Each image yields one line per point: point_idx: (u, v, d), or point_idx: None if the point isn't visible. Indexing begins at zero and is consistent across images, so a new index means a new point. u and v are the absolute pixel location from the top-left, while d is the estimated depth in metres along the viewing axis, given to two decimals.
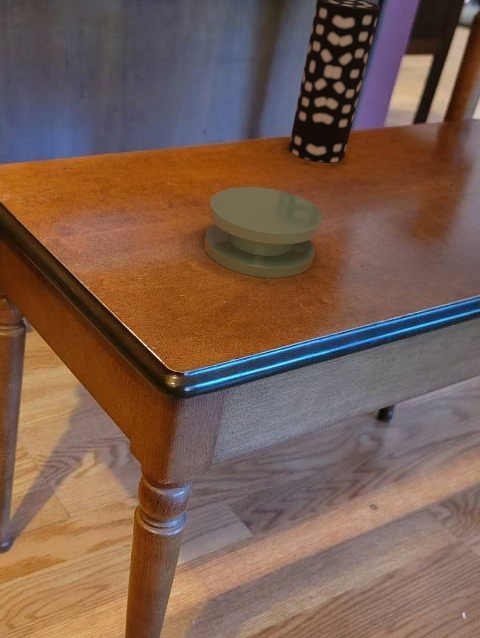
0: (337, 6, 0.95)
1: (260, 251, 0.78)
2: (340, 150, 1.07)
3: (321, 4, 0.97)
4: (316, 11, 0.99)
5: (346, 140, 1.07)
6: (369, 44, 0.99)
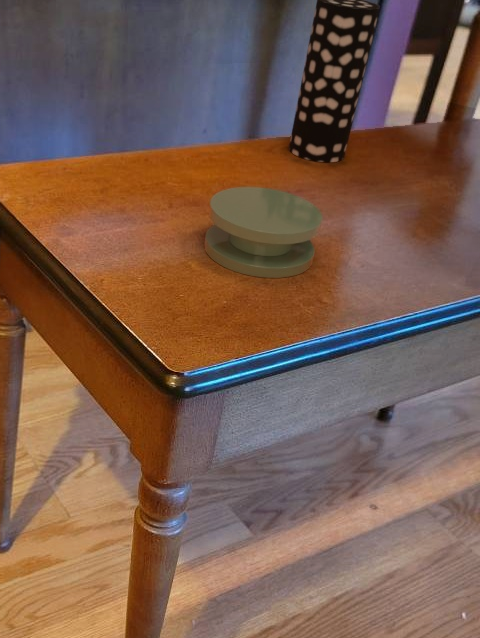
0: (337, 6, 0.95)
1: (260, 251, 0.78)
2: (340, 150, 1.07)
3: (320, 4, 0.97)
4: (316, 11, 0.99)
5: (346, 140, 1.07)
6: (369, 44, 0.99)
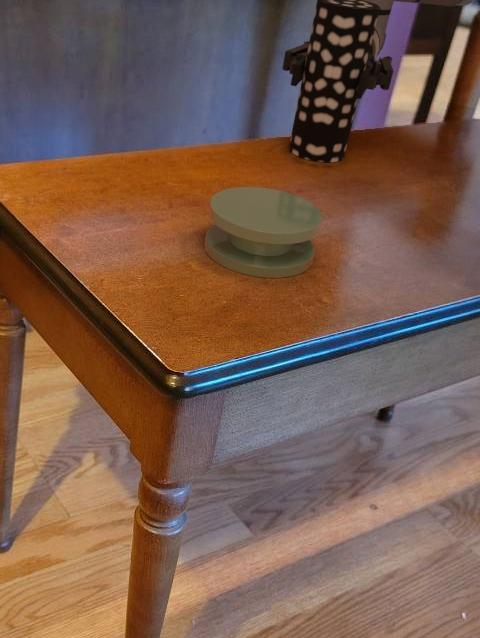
0: (337, 6, 0.95)
1: (260, 251, 0.78)
2: (341, 150, 1.07)
3: (321, 4, 0.97)
4: (316, 11, 0.99)
5: (346, 140, 1.07)
6: (369, 44, 0.99)
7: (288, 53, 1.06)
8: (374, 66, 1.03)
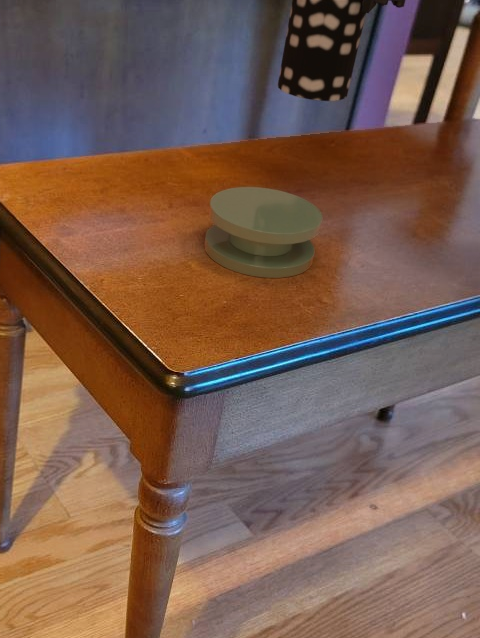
0: None
1: (260, 251, 0.78)
2: (342, 86, 0.85)
3: None
4: None
5: (349, 73, 0.85)
6: None
7: None
8: None
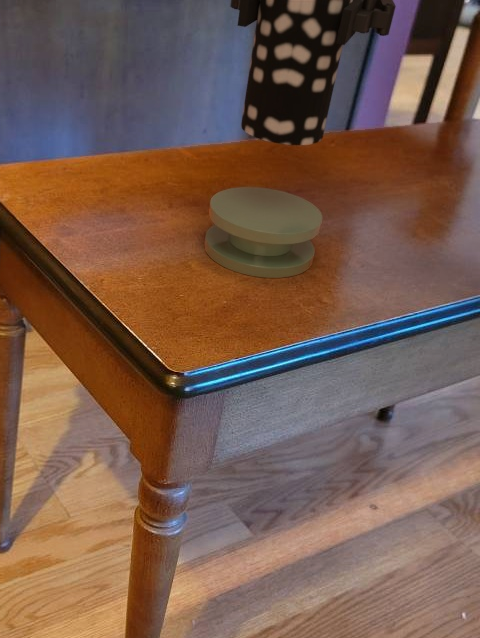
0: None
1: (260, 251, 0.78)
2: (316, 127, 0.72)
3: None
4: None
5: (325, 112, 0.72)
6: None
7: None
8: None
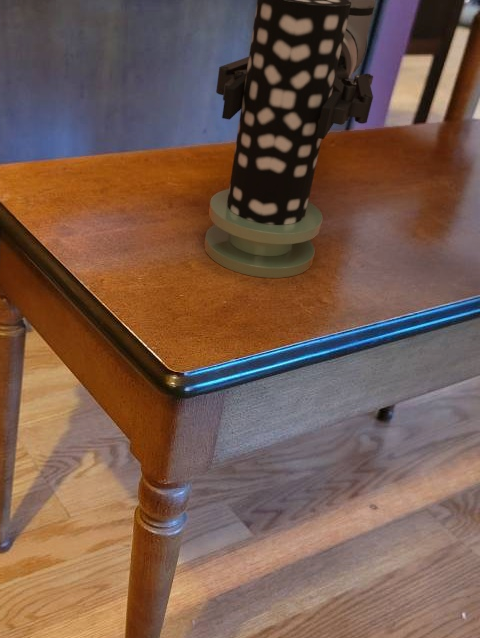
0: (286, 1, 0.63)
1: (260, 251, 0.78)
2: (298, 208, 0.75)
3: None
4: (257, 9, 0.66)
5: (306, 193, 0.75)
6: (336, 58, 0.67)
7: (223, 70, 0.74)
8: (345, 90, 0.71)
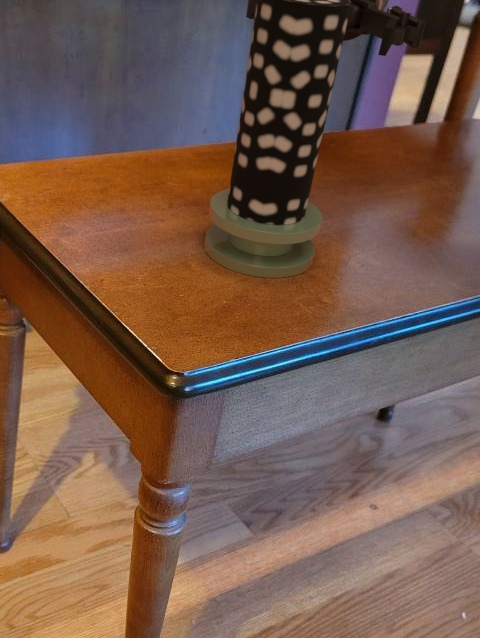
0: (286, 1, 0.63)
1: (260, 251, 0.78)
2: (298, 208, 0.75)
3: None
4: (257, 9, 0.66)
5: (306, 193, 0.75)
6: (336, 58, 0.67)
7: None
8: (402, 16, 0.81)
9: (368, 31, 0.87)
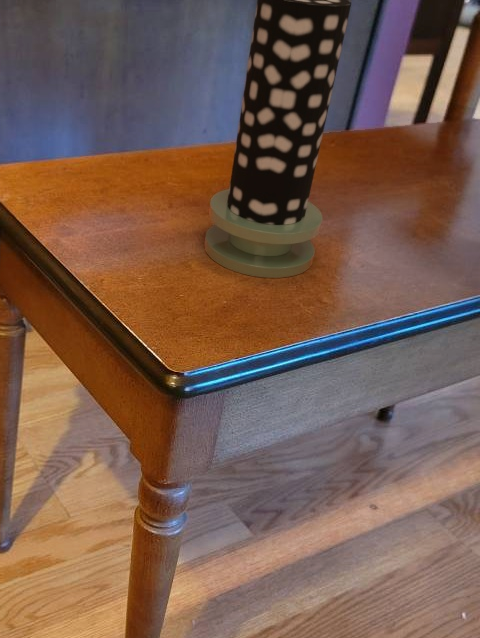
0: (286, 1, 0.63)
1: (260, 251, 0.78)
2: (298, 208, 0.75)
3: None
4: (257, 9, 0.66)
5: (306, 193, 0.75)
6: (336, 58, 0.67)
7: None
8: None
9: None
